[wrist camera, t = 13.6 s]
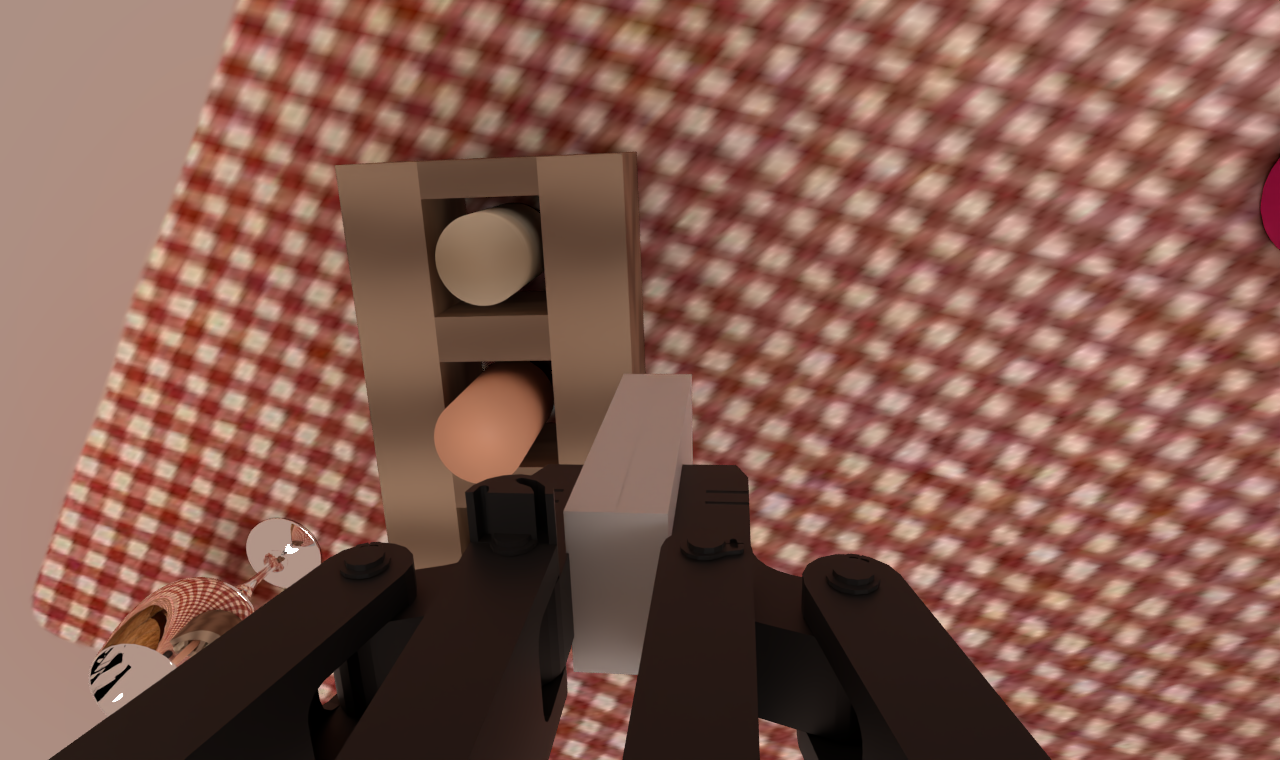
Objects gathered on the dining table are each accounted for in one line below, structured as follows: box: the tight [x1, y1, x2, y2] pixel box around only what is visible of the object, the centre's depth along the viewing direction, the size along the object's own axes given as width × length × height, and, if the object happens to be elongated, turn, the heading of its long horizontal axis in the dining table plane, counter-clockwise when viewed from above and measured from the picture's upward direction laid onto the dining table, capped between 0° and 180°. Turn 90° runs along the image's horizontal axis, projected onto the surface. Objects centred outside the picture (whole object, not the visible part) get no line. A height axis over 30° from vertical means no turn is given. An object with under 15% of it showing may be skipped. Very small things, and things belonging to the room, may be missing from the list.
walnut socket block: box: [335, 152, 645, 570], centre depth 39 cm, size 22×12×6 cm, turn 2°
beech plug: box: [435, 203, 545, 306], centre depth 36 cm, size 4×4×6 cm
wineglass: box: [88, 518, 322, 717], centre depth 40 cm, size 6×6×12 cm
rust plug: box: [434, 361, 554, 483], centre depth 35 cm, size 4×4×6 cm
